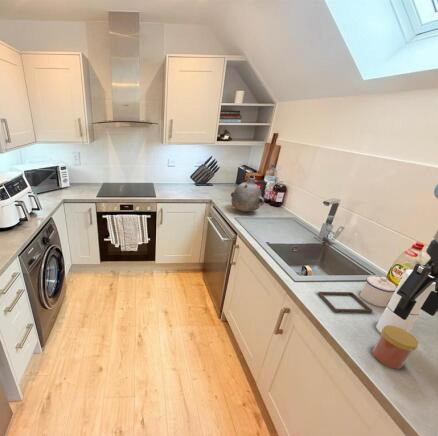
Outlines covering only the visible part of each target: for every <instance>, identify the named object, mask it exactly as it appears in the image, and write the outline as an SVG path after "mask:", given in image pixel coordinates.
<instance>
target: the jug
mask: <svg viewBox="0 0 438 436" xmlns="http://www.w3.org/2000/svg"><path fill="white" fill-rule="evenodd" d="M255 176H256V175H254V174H250V175H248V177H247V179H246V180H247V181H246V182H244V183H243V182H241V183H240V184H238V185H237V186H236V188H235V189H234V191H232V192H231V194H230V197H231V206H232V207H233V208H234V209H236V210H240V211H242V212H243V213H244V212H250V211H251V212H252V211H257V210H259V208H261V207H260V206H263V205H264V203H265V198H262V195H261V190H260V188H259V186H258V185H256V184H255V180H256V177H255ZM261 200H262V203H261Z"/></svg>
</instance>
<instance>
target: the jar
mask: <svg viewBox="0 0 438 436" xmlns="http://www.w3.org/2000/svg"><path fill="white" fill-rule="evenodd" d="M412 352H413V350H404V349H401V348H399V347H397V346H395V345H393V344H391V343H390V342H389V341H387V340H386V339H385V338H384V337H383V335H382V334H381V335H380V337H378V339H377V342H376V344H375V345H374V347H373V349H372V355H373V356H374V358H375V359H376V360H377V361H378V362H380V363H381V364H382V365H384V366H386V367H389V368H391V369H395V370H399V369H402V367H403V366H404V364H406V363H405V362H406V361H407V360H408V358H409V357H410V355H411V353H412Z"/></svg>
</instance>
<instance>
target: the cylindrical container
mask: <svg viewBox="0 0 438 436" xmlns="http://www.w3.org/2000/svg"><path fill="white" fill-rule="evenodd" d="M412 271H413V269H406V270H405V271H404V273H403V274H402V277H401V278H400V281H399V283H398V284H397V286H396V290H395V292H394V294H393V296H392V298H391V299H390V301H389V303H388V305H387V306H385V309H384V311H383V312H382V314H381V316H380V318H379V320H378V322H377V323H376V326H375V327H376V329H377V331H378V332H379V333H380V334H382V329H383V328H384V327H385V326H387V325H391V326H396V327H399V328H401V329H403V330H405V331H407V332H409V333H410V330H411V328H412V327H413V326H414V324H415V322H416V320H418V317H419V315H420V314H421V312H422V311H423V310H421V309H420V308H421V307H422V305H423V304H424V302H425V300H426V299H427V297H428V295H429V294H430V292H431V291H434V292H435V284H436V282H433V283H432V284H431V285H430V286H429V287H428V288H427V289H426V290H425V291H424V292H422V293H421V294H420V295H419V296H418V297H417V298H416V299H415V300H416V301H417V302H416V304H415V305H414V307H413V309H412V310H411V312H410V314H409V315H408V317H407V319H406V320H403V319H402V318H400V317H399V316H397V315H396V314H395V313H393V312H394V310H395V308H396V306H397V304H398V303H399V301H400V299H401V296H400V295H398V294H397V291H398V290H399V289H400V287H401V286H402V285H403V283H404V282H405V281H406V279H407V278H408V277H409V275H410V274H411V273H412ZM428 276H430V275H428ZM430 277H432V276H430ZM432 278H434V277H432Z"/></svg>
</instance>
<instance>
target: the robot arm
mask: <svg viewBox="0 0 438 436" xmlns="http://www.w3.org/2000/svg"><path fill="white" fill-rule="evenodd" d="M433 194H434V197H435V198H436V199H437V200H438V183H437V184H436V185H435V187H434V191H433ZM425 252H426V254H427V255H428V256H429V257H430V258H429V259H428V260H427V261H426V262H425V264H421V263H419V262H418V263H416V264H415V265H414V267H413V269H412V270H413V271H412V273H411V274H410V275H409V277H408V278H407V279H406V281H405V282H404V283H403V285H402V286H401V287H400V289H399V290H398V291H397V294H398V295H400V296H401V299H400V301H399V303H398V304H397V306H396V308H395V310H394V312H393V313H395V314H396V315H397V316H399V317H400V318H402V319H403V320H406V319H407V317H408V315H409V314H410V312H411V310H412V309H413V307H414V305H415V304H416V302H417V301H416V300H415V299H416V298H417V297H418V296H419V295H420V294H421V293H422V292H424V291H425V290H426V289H427V288H428V287H429V286H430V285H431V284H432V283H433V282H436V284H435V290H434V291H431V292H430V294H429V295H428V297H427V299H426V300H425V302H424V304H423V305H422V307H421V308H420V309H421V310H422V311H423V312H425V313H426V314H428V315H429V316H430V317H433V316H435V315H436V314H437V312H438V229H437V230H436V232H434V235H433V239H432V240H431V241H430V242H429V244H428V246H427V248H426V251H425ZM428 275H430V276H432V277H434V278H432V277H430V276H428Z"/></svg>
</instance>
